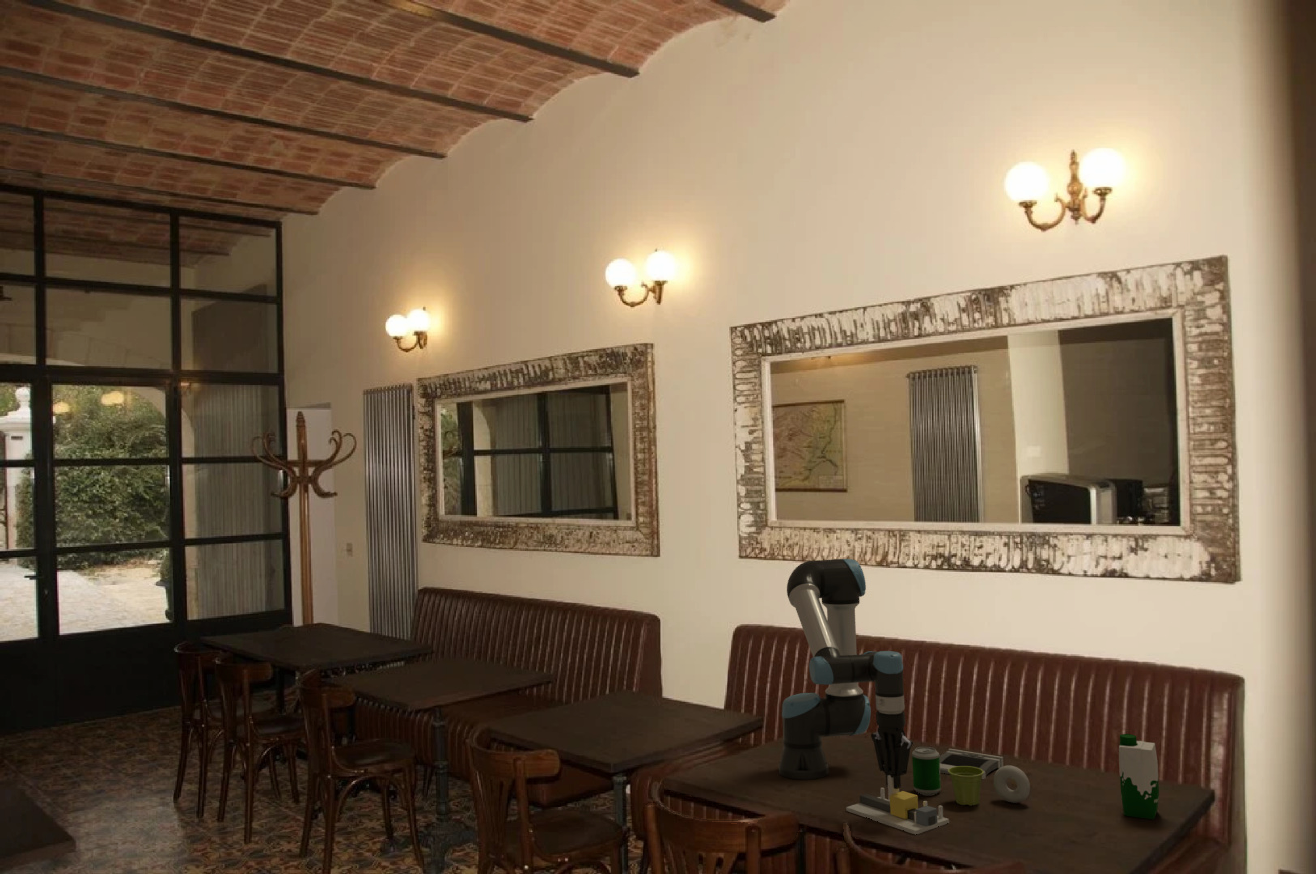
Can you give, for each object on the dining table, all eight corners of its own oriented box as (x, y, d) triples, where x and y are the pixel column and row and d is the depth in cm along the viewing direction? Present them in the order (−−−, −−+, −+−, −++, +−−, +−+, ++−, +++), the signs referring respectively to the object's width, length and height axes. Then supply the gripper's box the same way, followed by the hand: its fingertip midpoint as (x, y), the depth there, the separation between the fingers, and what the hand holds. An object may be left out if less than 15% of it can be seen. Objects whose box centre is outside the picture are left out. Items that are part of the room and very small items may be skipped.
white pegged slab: (846, 811, 276) (845, 793, 276) (879, 800, 284) (878, 784, 284) (915, 835, 257) (914, 816, 257) (949, 823, 264) (948, 805, 264)
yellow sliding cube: (890, 814, 269) (889, 795, 269) (903, 810, 272) (902, 791, 272) (905, 819, 265) (904, 799, 265) (918, 814, 268) (917, 795, 268)
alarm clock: (1003, 757, 311) (981, 765, 299) (1003, 772, 311) (981, 782, 298) (950, 748, 322) (926, 756, 310) (950, 763, 322) (927, 772, 310)
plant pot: (967, 810, 273) (965, 778, 274) (942, 801, 282) (940, 769, 282) (992, 804, 278) (991, 772, 278) (967, 795, 286) (965, 764, 286)
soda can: (941, 796, 285) (940, 753, 286) (914, 796, 287) (912, 753, 287) (940, 788, 293) (938, 746, 293) (913, 787, 294) (911, 746, 294)
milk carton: (1124, 806, 272) (1120, 731, 273) (1161, 811, 268) (1157, 734, 268) (1119, 816, 265) (1115, 739, 265) (1158, 821, 260) (1154, 742, 261)
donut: (1032, 804, 276) (1031, 767, 277) (1028, 807, 274) (1026, 770, 274) (997, 797, 283) (995, 761, 283) (992, 801, 280) (990, 764, 281)
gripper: (862, 709, 275) (866, 797, 274) (899, 717, 264) (903, 809, 263) (881, 704, 279) (885, 791, 278) (918, 712, 268) (922, 803, 268)
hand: (894, 800), depth 271 cm, fingers closed
